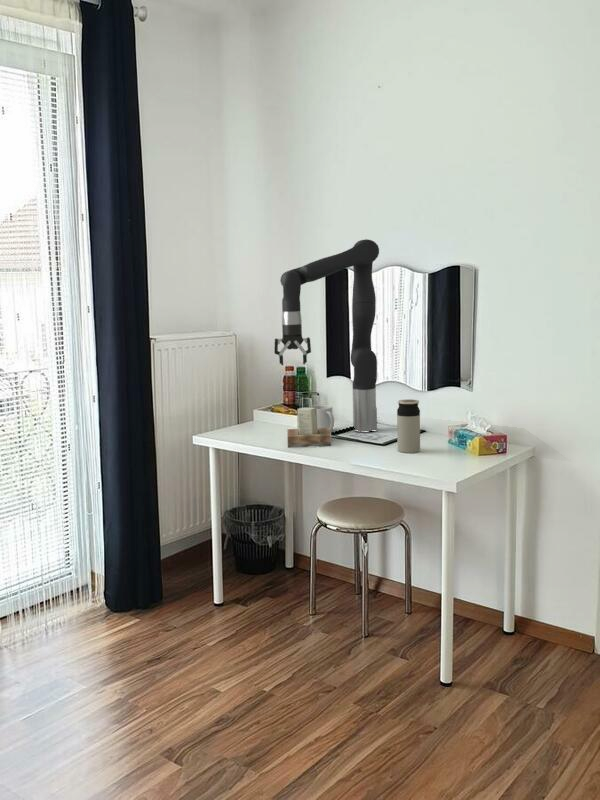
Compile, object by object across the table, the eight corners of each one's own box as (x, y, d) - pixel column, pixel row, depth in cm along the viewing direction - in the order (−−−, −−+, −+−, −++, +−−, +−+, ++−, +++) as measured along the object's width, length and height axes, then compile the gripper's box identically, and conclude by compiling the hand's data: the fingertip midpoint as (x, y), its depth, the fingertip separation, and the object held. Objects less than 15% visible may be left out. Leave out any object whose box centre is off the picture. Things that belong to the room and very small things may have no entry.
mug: (311, 429, 328) (310, 405, 326) (334, 429, 327) (333, 404, 325) (310, 435, 317) (309, 410, 315) (334, 434, 316) (333, 409, 315)
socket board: (329, 438, 310) (328, 427, 309) (331, 446, 296) (330, 435, 296) (287, 439, 310) (287, 429, 309) (287, 447, 296) (287, 436, 296)
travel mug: (423, 449, 286) (423, 400, 283) (414, 454, 279) (413, 403, 276) (403, 447, 290) (403, 398, 287) (393, 452, 284) (393, 402, 281)
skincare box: (318, 439, 303) (317, 407, 301) (312, 441, 299) (311, 409, 297) (304, 438, 306) (303, 406, 304) (298, 440, 303) (297, 408, 301)
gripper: (309, 321, 314) (311, 362, 317) (273, 323, 314) (275, 364, 317) (310, 323, 307) (311, 365, 310) (273, 324, 307) (274, 366, 309)
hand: (293, 364), depth 313 cm, fingers open, 8 cm apart
